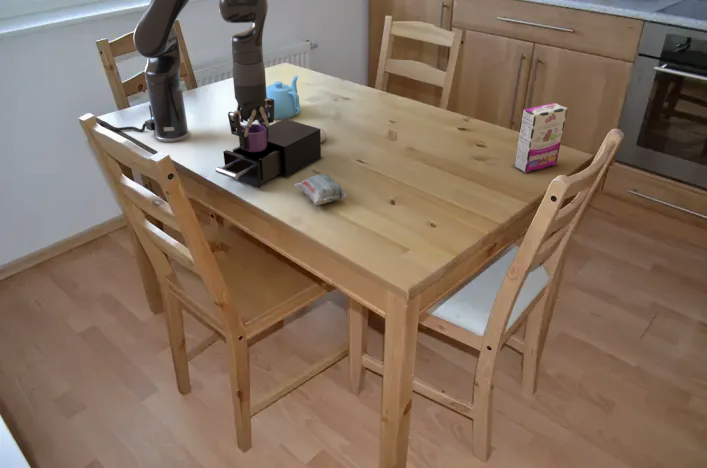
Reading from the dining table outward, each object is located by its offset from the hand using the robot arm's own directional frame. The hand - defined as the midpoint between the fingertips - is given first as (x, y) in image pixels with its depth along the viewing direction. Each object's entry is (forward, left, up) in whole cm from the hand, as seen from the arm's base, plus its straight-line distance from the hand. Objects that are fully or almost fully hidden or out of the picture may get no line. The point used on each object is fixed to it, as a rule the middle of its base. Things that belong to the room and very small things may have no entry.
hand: (254, 144), depth 147 cm
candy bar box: (+56, +49, -9) cm, 75 cm away
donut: (-4, +26, -9) cm, 28 cm away
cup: (0, 0, -1) cm, 1 cm away
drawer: (0, -1, -8) cm, 8 cm away
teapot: (-26, +37, -9) cm, 46 cm away
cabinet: (0, +11, -9) cm, 14 cm away
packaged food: (+20, 0, -9) cm, 22 cm away
